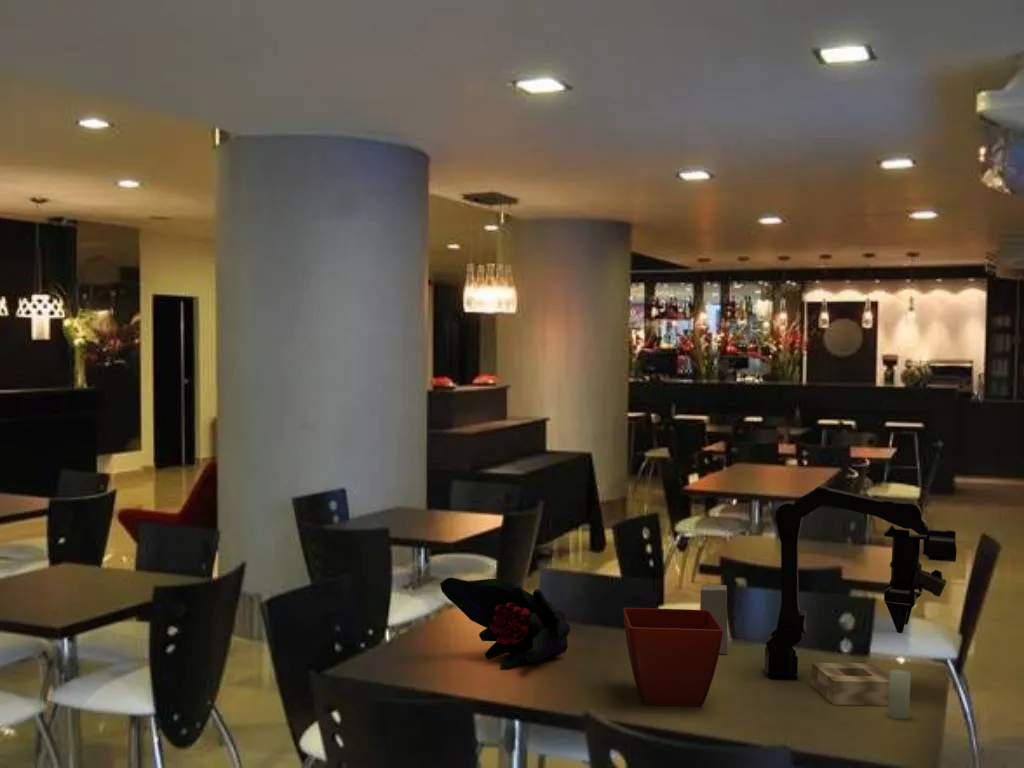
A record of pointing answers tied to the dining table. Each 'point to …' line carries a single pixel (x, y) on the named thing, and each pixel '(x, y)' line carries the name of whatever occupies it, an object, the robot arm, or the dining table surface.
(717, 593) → the skincare box
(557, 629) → the decorative plant
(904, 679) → the sage peg
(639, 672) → the plant pot
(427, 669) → the dining table surface
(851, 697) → the socket block
